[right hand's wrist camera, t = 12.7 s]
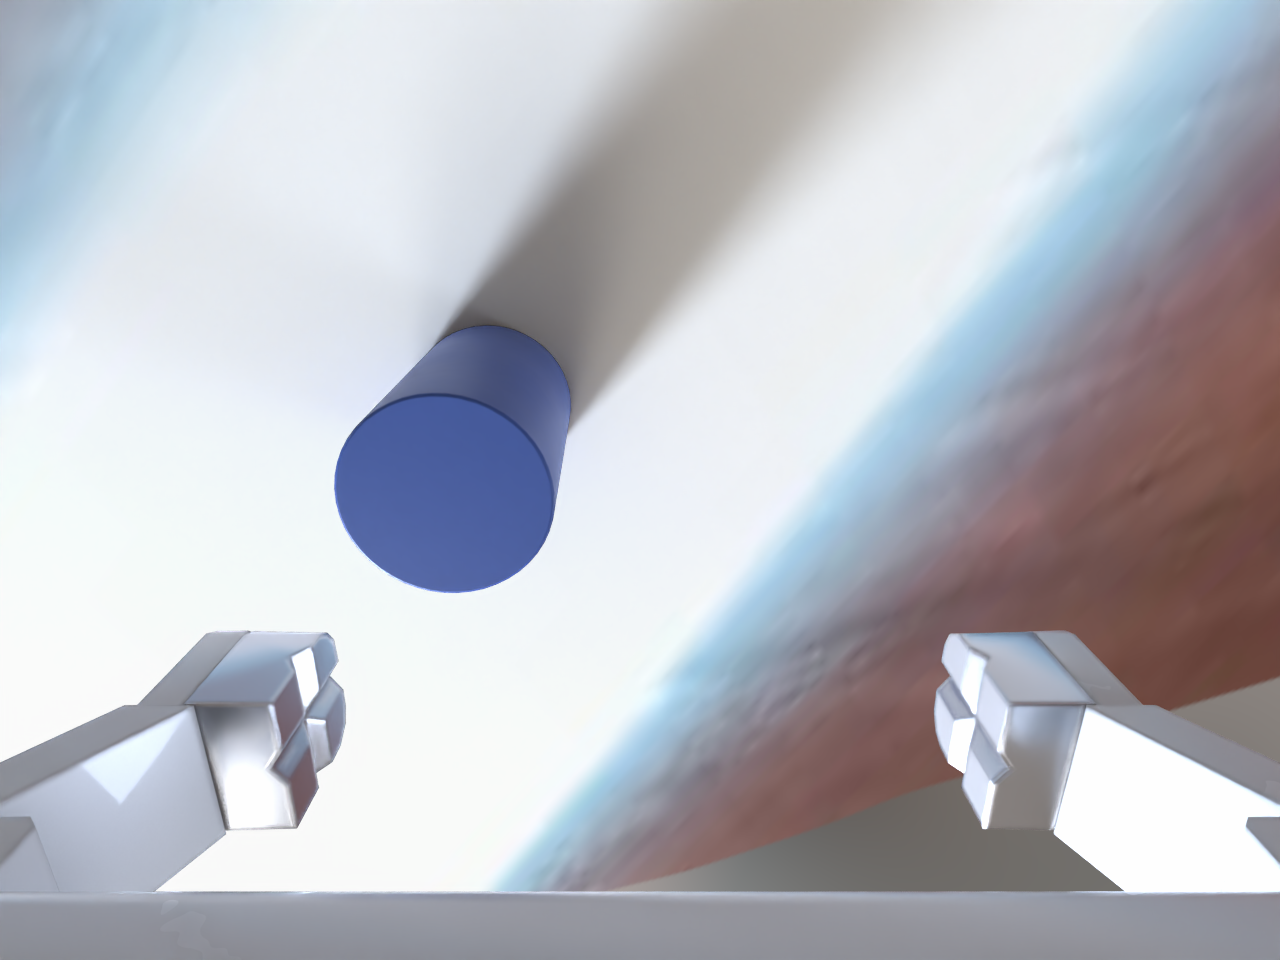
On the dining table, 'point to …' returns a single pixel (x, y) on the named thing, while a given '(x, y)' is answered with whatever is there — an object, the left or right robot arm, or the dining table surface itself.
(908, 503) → the dining table surface
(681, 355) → the dining table surface
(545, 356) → the canister
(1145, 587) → the dining table surface
